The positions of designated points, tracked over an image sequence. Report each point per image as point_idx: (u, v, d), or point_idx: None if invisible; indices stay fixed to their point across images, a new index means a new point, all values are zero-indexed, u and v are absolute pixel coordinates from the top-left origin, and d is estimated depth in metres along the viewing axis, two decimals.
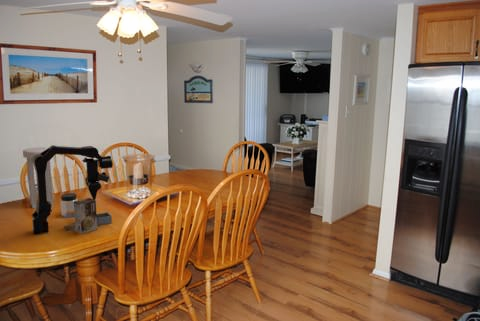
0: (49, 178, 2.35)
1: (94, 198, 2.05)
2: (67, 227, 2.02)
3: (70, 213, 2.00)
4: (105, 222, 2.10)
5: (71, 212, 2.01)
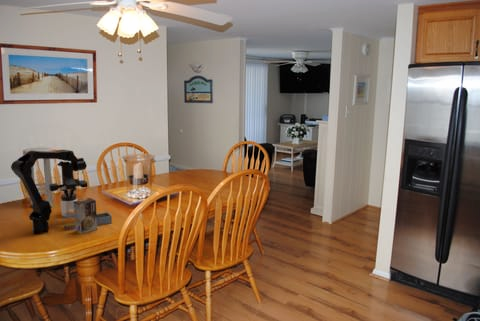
0: (49, 178, 2.35)
1: (67, 199, 2.10)
2: (67, 227, 2.02)
3: (70, 213, 2.00)
4: (105, 222, 2.10)
5: (71, 212, 2.01)
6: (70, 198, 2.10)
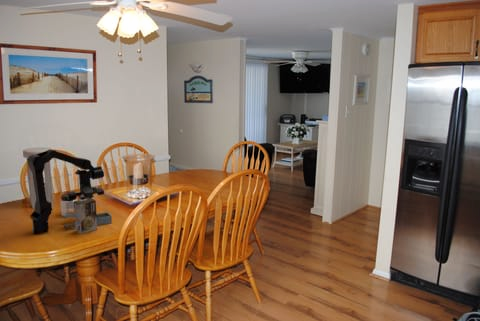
0: (49, 178, 2.35)
1: None
2: (67, 227, 2.02)
3: (70, 213, 2.00)
4: (105, 222, 2.10)
5: (71, 212, 2.01)
6: None
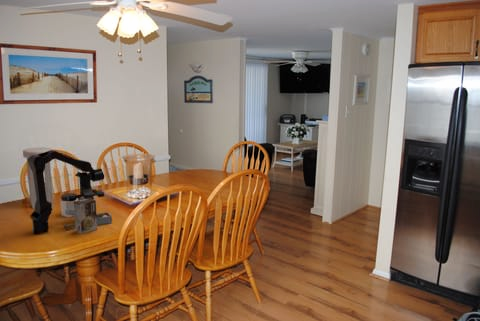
0: (49, 178, 2.35)
1: None
2: (67, 227, 2.02)
3: None
4: (105, 222, 2.10)
5: None
6: None
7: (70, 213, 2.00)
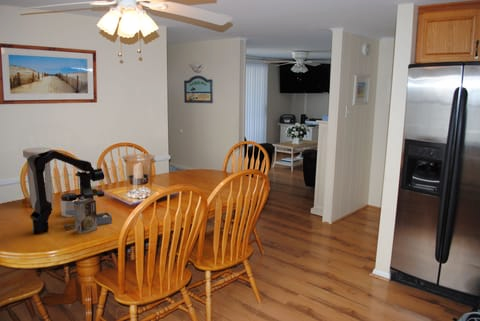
0: (49, 178, 2.35)
1: None
2: (67, 227, 2.02)
3: None
4: (105, 222, 2.10)
5: None
6: None
7: (70, 213, 2.00)
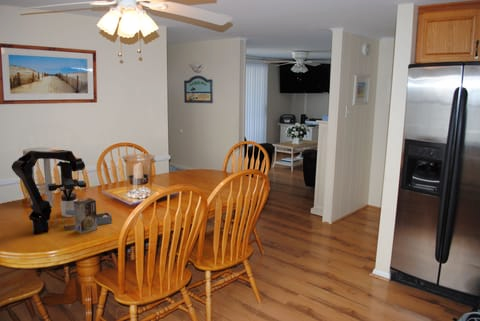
0: (49, 178, 2.35)
1: (66, 199, 2.10)
2: (67, 227, 2.02)
3: None
4: (105, 222, 2.10)
5: None
6: (68, 198, 2.10)
7: (70, 213, 2.00)
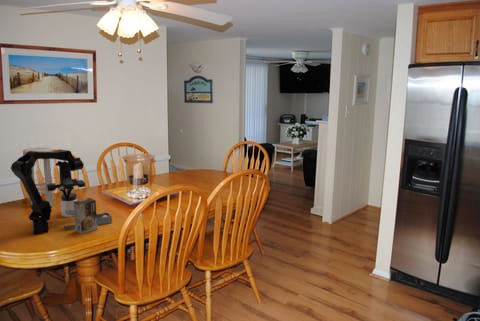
0: (49, 178, 2.35)
1: None
2: (67, 227, 2.02)
3: None
4: (105, 222, 2.10)
5: None
6: (67, 198, 2.10)
7: (70, 213, 2.00)
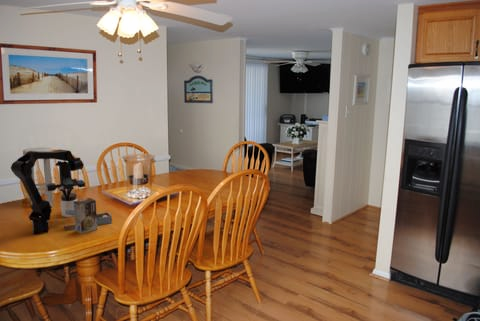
0: (49, 178, 2.35)
1: None
2: (67, 227, 2.02)
3: None
4: (105, 222, 2.10)
5: None
6: (67, 198, 2.10)
7: (70, 213, 2.00)
